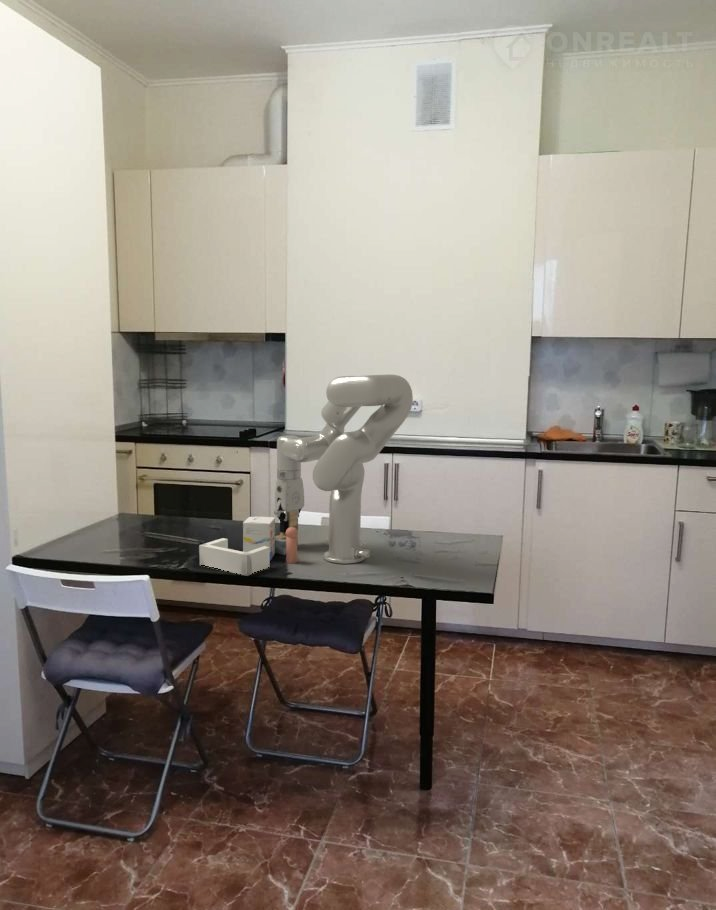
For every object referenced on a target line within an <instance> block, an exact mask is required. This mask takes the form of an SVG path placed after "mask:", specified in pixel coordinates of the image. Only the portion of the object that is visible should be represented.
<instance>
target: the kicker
mask: <svg viewBox="0 0 716 910" xmlns="http://www.w3.org/2000/svg"><path fill="white" fill-rule="evenodd" d="M284 514H285V513H283V515H284ZM287 521H289V527H294V528H296V529H297V531H298V530H299V518H298V510H295V511H291V512H288V519H287ZM298 532H299V531H298ZM298 535H299V534H298ZM298 535H297V547H298V546H299V544H298V541H299V538H298ZM275 554H279V555H284V556H286V533H282V532H280V531H279V534H278V535H275Z"/></svg>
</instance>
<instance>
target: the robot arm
mask: <svg viewBox="0 0 716 910" xmlns="http://www.w3.org/2000/svg"><path fill="white" fill-rule="evenodd" d="M325 392H326V393H325V395H326V398H327V400H328V401H327V402H326V404H325V405H324V406H323V407H322V408H321V417H322V419H323V421H324V422H325V423H326V424H325V426H324V427H323V428H322V429H321V430H320V431H319V433H318V434H317V435H313V436H308V437H299V436H296V435H281V436H279V437H278V438H277V439H276V440H277V441H276V483H275V491H274V492H275V493H274V507H275V508H274V510H273V515H275V517H277V518H278V521H279V533H280V532H282V533H286V530H287V529H288V528H289V521H287V519H288V512H291V511H295V510H298V519H299V518H300V513H301V512H302V509H303V508H304V507H305V487H304V483H303V478H302V463H308V462H309V463H310V462H313V461H317V462H316V463H315V465H314V467H313V470H312V480H313V482H314V483H313V484H314V485H315V486H316V487H317V488H318V489H319V490H320V491H325V492H330V496H329V503H328V505H329V509H328V512H329V513H328V514H329V516H328V517H329V519H328V526H329V527H328V529H329V530H328V532H329V533H328V550H327V551H326V552H324V553H323V559H324V560H325V561H327V562H330V563H333V564H341V565H342V564H344V565H345V564H355V563H361V562H362V561H364V560H365V559H366V558H367V559H369V558H370V556H371V550H370V549H365V548H364V543H361V517H362V515H361V513H362V511H361V510H362V491H363V486H364V485H363V484H364V480H365V467H364V464H366V463H369V462H371V461H373V460H374V459H375V458H376V457H377V456H378V455H379V453H381V451H382V450H383V449H384V448H385V446H386V445H387V443H389V442H390V440H391V438H392V437H393V436H394V434H395V433H396V432H397V431H398V429H400V428H401V426H402V425H403V424H404V422H405V421H406V419H407V418H408V416H409V414H410V412H411V410H412V407H413V401H414V399H413V398H414V396H413V390H412V387H411V385H410V382H409V381H408V380H407V379H406V378H405V377H402V376H401V375H397V374H371V375H368V374H367V375H346V376H345V375H344V376H343V375H341V376H336V377H334V378H332V379H331V381H330V382H328V385H327V387H326V391H325ZM377 406H380V407H378V409H377V410H375V411H374V412H373V413H372V414H371V415H370V416H369V417H368V419H366V422H365V423H363V425H362V426H361V427H360V428H358V429H356V430H354V431H353V430H352V431H348V432H345V427H346V425H347V424H348V423H349V422H350V421H351V419H352V418H353V417H354V416H355V414H356V413H358V411H359V410H360V408H361V407H377ZM283 513H285V514H284V515H283Z"/></svg>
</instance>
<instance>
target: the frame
mask: <svg viewBox="0 0 716 910" xmlns="http://www.w3.org/2000/svg"><path fill="white" fill-rule="evenodd" d="M198 553H199V559H198V560H199V566H201V565H205V566H209V567H214V568H218V569H221V570H220V571H223V570H224V572H227V571H229V572H228V573H232V574H236V573H237V575H240V574H241V576H247V577H249V576H250V575H253V574H255V573H254V572H256V573H258V572H257V571H259V572H261V571H264V570H266V569H269V568H270V567H271V566H270V564H271V563H270V561H271V560H270V547H266V546H263V547H260V548H257V549H254V550H251V551H249V552H243V550H242V551H240V550H236V549H233V548H229V539H228V538H224V537H222V538H219V539H215V540H212V541H209V542H206V543H202V544H199V546H198ZM205 566H204V567H205ZM209 567H208V568H209ZM268 567H269V568H268ZM214 568H213V569H214ZM218 569H217V570H218ZM263 569H264V570H263ZM260 570H261V571H260ZM252 573H253V574H252Z"/></svg>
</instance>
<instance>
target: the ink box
mask: <svg viewBox="0 0 716 910" xmlns="http://www.w3.org/2000/svg"><path fill="white" fill-rule="evenodd" d="M242 532H243V533H242V542H243V543H242V552H249V551H251V550H254V549H257V548H260V547H263V546H266V547H270V561H272V559H273V557H274V556H275V554H276V553H275V536H276V516H275V517H273V516H249V517H247V518H246V519H245V520H244V521H243V522H242Z"/></svg>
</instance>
